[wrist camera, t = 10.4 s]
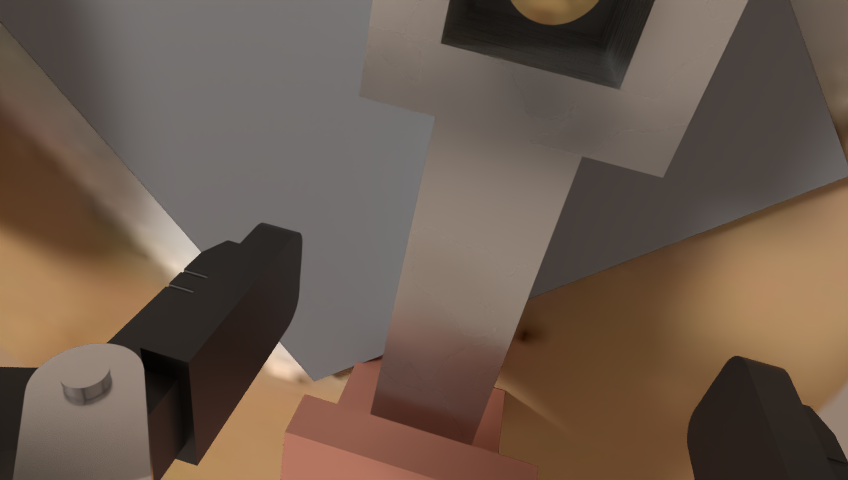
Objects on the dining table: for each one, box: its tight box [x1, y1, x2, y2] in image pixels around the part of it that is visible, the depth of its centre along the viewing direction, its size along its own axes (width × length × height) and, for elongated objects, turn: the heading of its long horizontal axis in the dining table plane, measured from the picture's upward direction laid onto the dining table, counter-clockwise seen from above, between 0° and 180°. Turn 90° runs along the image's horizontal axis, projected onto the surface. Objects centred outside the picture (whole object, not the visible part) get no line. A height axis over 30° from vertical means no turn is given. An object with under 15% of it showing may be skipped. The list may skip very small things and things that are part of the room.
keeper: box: [280, 355, 538, 480], centre depth 18 cm, size 7×6×8 cm
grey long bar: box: [359, 0, 748, 445], centre depth 14 cm, size 16×6×5 cm, turn 168°
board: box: [0, 0, 848, 381], centre depth 16 cm, size 20×18×1 cm
